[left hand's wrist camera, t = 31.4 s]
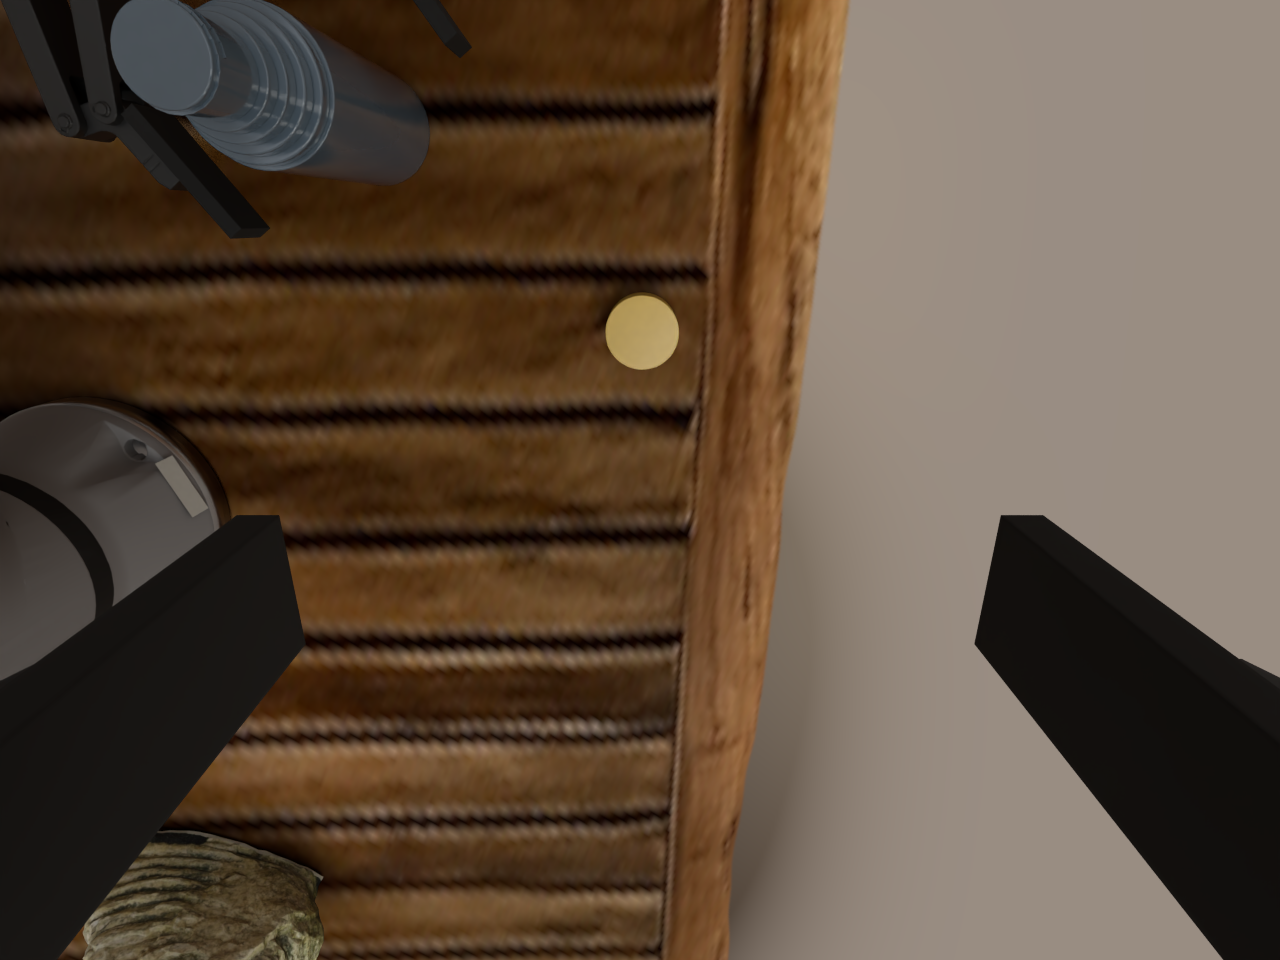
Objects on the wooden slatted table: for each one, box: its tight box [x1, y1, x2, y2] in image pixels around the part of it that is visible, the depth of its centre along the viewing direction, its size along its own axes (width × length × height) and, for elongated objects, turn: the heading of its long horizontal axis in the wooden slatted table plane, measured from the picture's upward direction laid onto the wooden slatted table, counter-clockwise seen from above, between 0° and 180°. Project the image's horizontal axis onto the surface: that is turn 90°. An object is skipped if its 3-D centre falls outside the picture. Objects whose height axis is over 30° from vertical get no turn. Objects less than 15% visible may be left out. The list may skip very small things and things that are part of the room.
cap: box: [605, 292, 679, 370], centre depth 41 cm, size 4×4×2 cm
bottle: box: [110, 0, 430, 186], centre depth 29 cm, size 6×6×18 cm
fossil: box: [83, 830, 324, 960], centre depth 51 cm, size 9×18×15 cm, turn 84°
